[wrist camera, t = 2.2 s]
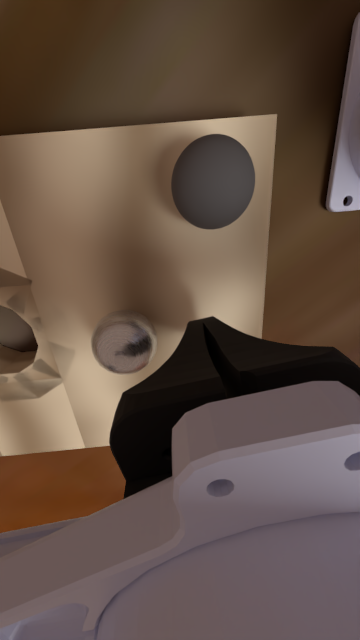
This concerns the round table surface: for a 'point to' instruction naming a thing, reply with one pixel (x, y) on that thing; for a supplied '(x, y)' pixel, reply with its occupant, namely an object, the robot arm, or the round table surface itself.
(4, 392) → the plate
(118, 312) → the steel ball
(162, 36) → the round table surface
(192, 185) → the black rubber ball
